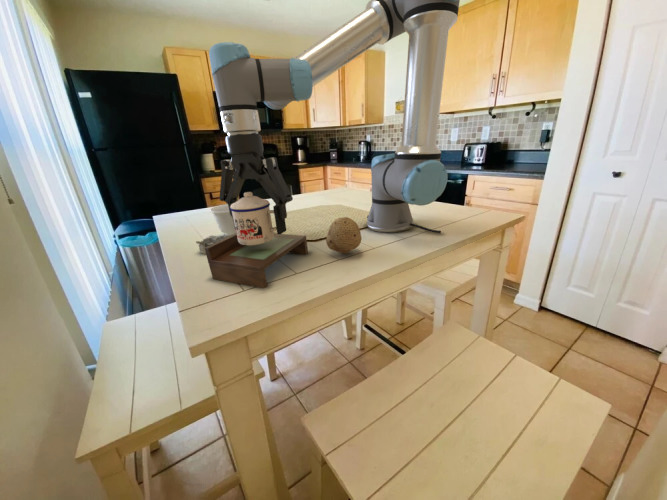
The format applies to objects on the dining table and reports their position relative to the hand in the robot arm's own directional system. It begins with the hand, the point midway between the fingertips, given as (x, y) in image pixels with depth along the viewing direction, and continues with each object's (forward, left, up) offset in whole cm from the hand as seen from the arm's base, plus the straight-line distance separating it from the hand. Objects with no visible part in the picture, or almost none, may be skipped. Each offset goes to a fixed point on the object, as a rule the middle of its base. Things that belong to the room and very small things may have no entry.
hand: (260, 230), depth 66 cm
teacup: (+25, -18, -10) cm, 32 cm away
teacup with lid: (0, 0, -3) cm, 3 cm away
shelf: (+1, 0, -9) cm, 9 cm away
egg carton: (+22, -6, -10) cm, 25 cm away
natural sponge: (-17, -12, -10) cm, 23 cm away
